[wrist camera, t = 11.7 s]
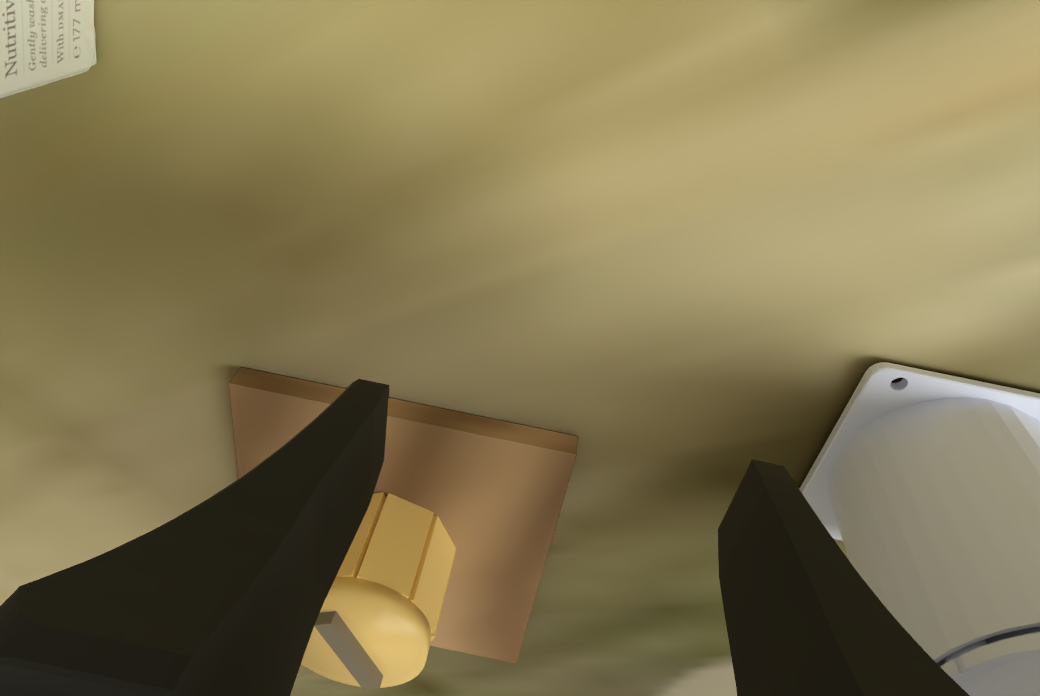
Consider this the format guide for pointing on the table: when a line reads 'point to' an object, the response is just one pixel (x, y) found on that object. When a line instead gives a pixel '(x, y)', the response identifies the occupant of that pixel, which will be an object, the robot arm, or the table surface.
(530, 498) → the post board
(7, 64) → the skincare box
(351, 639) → the cap
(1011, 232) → the table surface
